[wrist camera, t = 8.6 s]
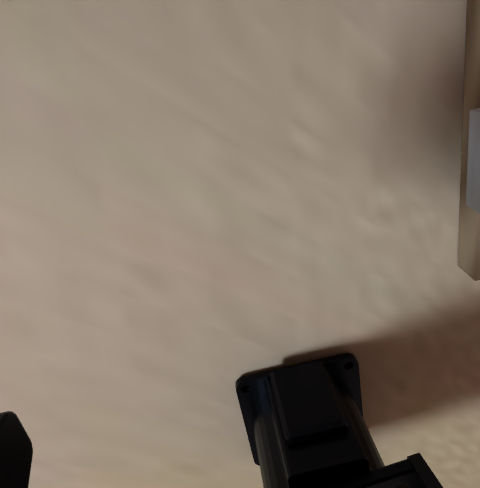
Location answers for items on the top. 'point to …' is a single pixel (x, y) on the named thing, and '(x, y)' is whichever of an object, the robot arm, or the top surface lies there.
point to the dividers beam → (470, 149)
